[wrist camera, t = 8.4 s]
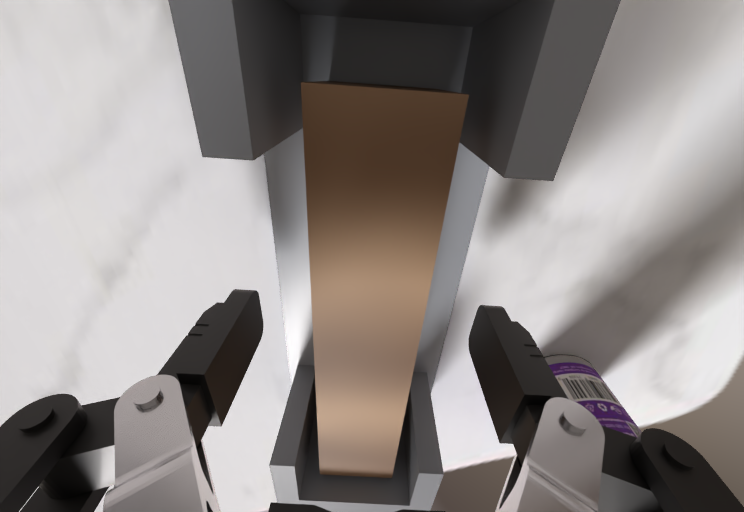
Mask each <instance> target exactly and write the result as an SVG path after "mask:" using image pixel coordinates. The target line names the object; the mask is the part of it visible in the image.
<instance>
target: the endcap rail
mask: <svg viewBox="0 0 744 512" xmlns="http://www.w3.org/2000/svg"><path fill="white" fill-rule="evenodd" d="M620 1H621V0H169V5H170V10H171V14H172V19H173V23H174V28H175V33H176V37H177V42H178V46H179V51H180V56H181V60H182V65H183V69H184V74H185V79H186V83H187V88H188V93H189V97H190V102H191V106H192V111H193V116H194V120H195V125H196V129H197V134H198V139H199V143H200V148H201V152H202V157H211V158H226V159H240V160H255V159H256V158H258V157H259V156H261V155H262V154H264V156H265V165H266V173H267V182H268V191H269V199H270V208H271V217H272V225H273V234H274V243H275V252H276V260H277V269H278V278H279V286H280V295H281V304H282V313H283V321H284V330H285V339H286V347H287V356H288V365H289V373H290V382H291V390H290V394H289V397H288V401H287V405H286V408H285V412H284V415H283V419H282V422H281V426H280V429H279V433H278V436H277V440H276V443H275V447H274V451H273V454H272V458H271V461H270V465H269V466H270V471H271V475H272V480H273V484H274V489H275V494H276V498H277V503H289V504H308V505H316V506H318V507H321V508H323V509H326V510H328V511H335V512H395V511H399V510H402V509H406V510H426V511H430V510H431V507H432V504H433V501H434V499H435V496H436V493H437V491H438V488H439V485H440V483H441V480H442V477H443V475H444V474H443V468H442V462H441V456H440V449H439V443H438V437H437V431H436V425H435V419H434V413H433V407H432V401H431V390H432V387H433V383H434V379H435V375H436V371H437V367H438V363H439V359H440V356H441V352H442V348H443V344H444V340H445V336H446V332H447V328H448V325H449V321H450V317H451V313H452V309H453V305H454V301H455V297H456V293H457V290H458V286H459V282H460V278H461V274H462V270H463V266H464V262H465V259H466V255H467V251H468V247H469V243H470V239H471V235H472V231H473V228H474V224H475V220H476V216H477V212H478V208H479V204H480V200H481V197H482V193H483V189H484V185H485V181H486V177H487V173H488V169H489V166H490V167H491V168H492V169H494V170H495V171H496V172H498V173H499V174H500V175H501V176H503V177H504V178H517V179H532V180H546V181H553V180H554V178H555V175H556V172H557V170H558V167H559V164H560V162H561V159H562V156H563V154H564V151H565V148H566V146H567V143H568V140H569V138H570V135H571V132H572V129H573V127H574V124H575V121H576V119H577V116H578V113H579V111H580V108H581V105H582V103H583V100H584V97H585V95H586V92H587V89H588V87H589V84H590V81H591V79H592V76H593V73H594V71H595V68H596V65H597V63H598V60H599V57H600V55H601V52H602V49H603V47H604V44H605V41H606V38H607V36H608V33H609V30H610V28H611V25H612V22H613V20H614V17H615V14H616V12H617V9H618V6H619V4H620ZM315 81H338V82H352V83H365V84H379V85H392V86H406V87H419V88H433V89H440V90H446V91H451V92H457V93H463V94H468V95H469V97H468V102H467V107H466V112H465V117H464V122H463V127H462V132H461V137H460V142H459V147H458V152H457V157H456V162H455V167H454V172H453V177H452V182H451V187H450V192H449V196H448V201H447V206H446V211H445V216H444V221H443V226H442V231H441V236H440V241H439V246H438V251H437V256H436V261H435V266H434V271H433V276H432V281H431V286H430V291H429V296H428V301H427V306H426V311H425V316H424V321H423V326H422V331H421V336H420V341H419V346H418V351H417V356H416V361H415V366H414V371H413V376H412V381H411V386H410V391H409V396H408V401H407V406H406V410H405V415H404V420H403V425H402V430H401V435H400V440H399V445H398V450H397V455H396V460H395V465H394V470H393V475H392V478H380V477H361V476H342V475H324V474H320V468H319V447H318V427H317V406H316V386H315V365H314V345H313V324H312V304H311V283H310V263H309V242H308V222H307V201H306V181H305V160H304V140H303V119H302V99H301V82H315Z"/></svg>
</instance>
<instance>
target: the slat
mask: <svg viewBox="0 0 744 512" xmlns="http://www.w3.org/2000/svg"><path fill="white" fill-rule="evenodd" d="M468 97H469V95H468V94H463V93H457V92H451V91H446V90H440V89H433V88H419V87H406V86H392V85H379V84H365V83H352V82H338V81H315V82H301V99H302V119H303V140H304V160H305V181H306V201H307V222H308V242H309V263H310V283H311V304H312V324H313V345H314V365H315V386H316V406H317V427H318V447H319V468H320V474H324V475H342V476H361V477H380V478H392V475H393V470H394V465H395V460H396V455H397V450H398V445H399V440H400V435H401V430H402V425H403V420H404V415H405V410H406V406H407V401H408V396H409V391H410V386H411V381H412V376H413V371H414V366H415V361H416V356H417V351H418V346H419V341H420V336H421V331H422V326H423V321H424V316H425V311H426V306H427V301H428V296H429V291H430V286H431V281H432V276H433V271H434V266H435V261H436V256H437V251H438V246H439V241H440V236H441V231H442V226H443V221H444V216H445V211H446V206H447V201H448V196H449V192H450V187H451V182H452V177H453V172H454V167H455V162H456V157H457V152H458V147H459V142H460V137H461V132H462V127H463V122H464V117H465V112H466V107H467V102H468Z"/></svg>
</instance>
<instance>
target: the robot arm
mask: <svg viewBox="0 0 744 512" xmlns="http://www.w3.org/2000/svg"><path fill="white" fill-rule="evenodd" d="M262 333H263V318H262V312H261V306H260V300H259V294H258V292H257V291H255V290H238V289H235V290H233V291H232V292H231V294H230V295H229V297H228V298H227V300H226V301H225V302H224V303H216V304H215V305H213V306H212V307H211V308H209V309H208V310H206V311H205V312H204V313H203V314H202V316H201V317H200V318H199V320H198V321H197V322H196V325H195V326H193V328H192V329H191V330H190V332H189V333H188V336H186V337H185V338H184V340H183V341H182V342H181V344H180V345H179V346H178V348H177V349H176V350H175V352H174V353H173V354H172V356H171V357H170V358H169V360H168V361H167V362H166V364H165V365H164V367H163V368H162V369H161V371H160V372H159V373H158V374H157V375H156V376H151V377H148V378H146V379H143V380H141V381H139V382H138V383H136V384H134V385H133V386H131V387H130V388H129V389H128V390H126V391H125V392H124V393H123V395H122V396H121V397H119V398H115V399H110V400H105V401H101V402H96V403H91V404H87V405H82V406H81V405H80V403H79V402H78V400H77V399H76V398H75V397H74V396H72V395H69V394H56V395H51V396H48V397H45V398H42V399H39V400H37V401H35V402H33V403H31V404H29V405H27V406H25V407H24V408H22V409H21V410H19V411H18V412H16V413H15V414H14V415H12V416H11V417H10V418H9V419H8V420H7V421H6V422H5V423H4V424H3V425H2V426H1V427H0V512H19V510H20V509H21V508H22V507H23V505H24V504H25V503H26V501H27V500H28V499H29V498H30V496H31V495H32V494H33V492H34V491H35V490H36V489H37V487H38V486H39V488H38V489H37V490H36V492H35V493H34V494H33V496H32V497H31V498H30V499H29V501H28V502H27V503H26V505H25V506H24V507H23V508H22V510H21V511H20V512H94V511H95V509H96V507H97V506H98V504H99V502H100V501H101V499H102V497H103V496H104V494H105V493H106V491H107V489H108V488H109V486H111V485H114V484H115V485H114V488H113V489H111V490H109V491H108V492H107V493H106V495H105V498H104V505H103V512H221V511H220V508H219V504H218V501H217V497H216V493H215V489H214V485H213V481H212V477H211V473H210V468H209V464H208V460H207V456H206V452H205V448H204V444H203V440H202V437H203V435H204V433H205V431H206V429H207V427H208V426H222V424H223V422H224V420H225V417H226V415H227V413H228V411H229V409H230V406H231V404H232V402H233V400H234V398H235V395H236V393H237V391H238V389H239V386H240V384H241V382H242V380H243V378H244V375H245V373H246V371H247V369H248V367H249V364H250V362H251V360H252V358H253V356H254V353H255V351H256V349H257V347H258V344H259V342H260V340H261V337H262ZM469 351H470V355H471V358H472V361H473V364H474V367H475V370H476V373H477V376H478V379H479V382H480V385H481V388H482V391H483V394H484V397H485V400H486V403H487V406H488V409H489V412H490V415H491V418H492V421H493V424H494V427H495V430H496V433H497V436H498V439H499V442H500V443H508V444H514V447H515V450H516V452H517V453H516V455H515V457H514V460H513V462H512V465H511V468H510V471H509V474H508V477H507V479H506V482H505V485H504V488H503V491H502V494H501V497H500V499H499V502H498V505H497V508H496V511H495V512H744V507H743V506H742V504H741V503H740V502H739V501H738V499H737V498H736V497H735V496H734V494H733V493H732V492H731V491H730V489H729V488H728V487H727V486H726V484H725V483H724V482H723V481H722V480H721V478H720V477H719V476H718V475H717V473H716V472H715V471H714V470H713V468H712V467H711V466H710V465H709V463H708V462H707V461H706V460H705V459H704V458H703V456H702V455H701V454H700V453H699V452H698V451H697V450H696V449H694V448H693V447H692V446H691V445H689V444H688V443H687V442H685V441H684V440H682V439H681V438H679V437H677V436H675V435H673V434H671V433H669V432H666V431H664V430H661V429H655V428H651V429H646V430H644V431H643V432H642V433H641V434H640V435H639V436H638V438H637V437H634V436H631V435H628V434H625V433H622V432H619V431H616V430H613V429H610V428H608V427H605V426H602V425H601V424H600V423H599V421H598V420H597V419H596V417H595V416H594V415H593V414H592V413H591V412H590V411H588V410H587V409H586V408H585V407H583V406H582V405H580V404H578V403H577V402H575V401H572V400H570V399H568V397H567V395H566V394H565V392H564V390H563V389H562V387H561V385H560V384H559V382H558V380H557V379H556V377H555V375H554V374H553V372H552V370H551V368H550V367H549V365H548V363H547V362H546V360H545V358H543V355H542V353H541V352H540V350H539V348H537V345H536V343H535V341H534V340H533V338H532V336H531V335H530V333H529V332H528V331H527V330H526V329H525V328H524V327H522V326H521V325H520V324H519V323H518V322H513V321H511V320H510V318H509V316H508V314H507V313H506V311H505V309H504V308H503V307H501V306H486V305H480V306H479V308H478V310H477V313H476V316H475V319H474V323H473V326H472V329H471V332H470V336H469ZM269 512H331V511H328V510H326V509H323V508H321V507H318V506H316V505H308V504H289V503H271V504H270V508H269ZM395 512H443V511H426V510H406V509H402V510H399V511H395ZM444 512H445V511H444Z"/></svg>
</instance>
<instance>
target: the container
mask: <svg viewBox="0 0 744 512" xmlns="http://www.w3.org/2000/svg"><path fill="white" fill-rule="evenodd" d="M545 360H546V362H547V363H548V365H549V367H550V368H551V370H552V372H553V374H554V375H555V377H556V379H557V380H558V382H559V384H560V385H561V387H562V389H563V390H564V392H565V394H566V395H567V397H568V399H570V400H572V401H575V402H577V403H578V404H580V405H582V406H583V407H585V408H586V409H587V410H588V411H590V412H591V413H592V414H593V415H594V416H595V417H596V419H597V420H598V421H599V423H600V424H601V425H602V426H605V427H608V428H610V429H613V430H616V431H619V432H622V433H625V434H628V435H631V436H634V437H637V438H638V436H639V435H640V434H641V433H642V432H641V431H640V429H639V428H638V427H637V425H636V424H635V423H634V421H633V420H632V419H631V417H630V416H629V415H628V413H627V412H626V411H625V409H624V408H623V407H622V405H621V404H620V403H619V401H618V400H617V399H616V397H615V396H614V395H613V393H612V392H611V391H610V389H609V388H608V386H607V385H606V384H605V382H604V381H603V380H602V378H601V377H600V376H599V374H598V373H597V372H596V371H595V369H594V368H593V367H592V365H591V364H590V363H589V362H587V361H586V360H584V359H582V358H579V357H576V356H570V355H555V356H549V357H545Z"/></svg>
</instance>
